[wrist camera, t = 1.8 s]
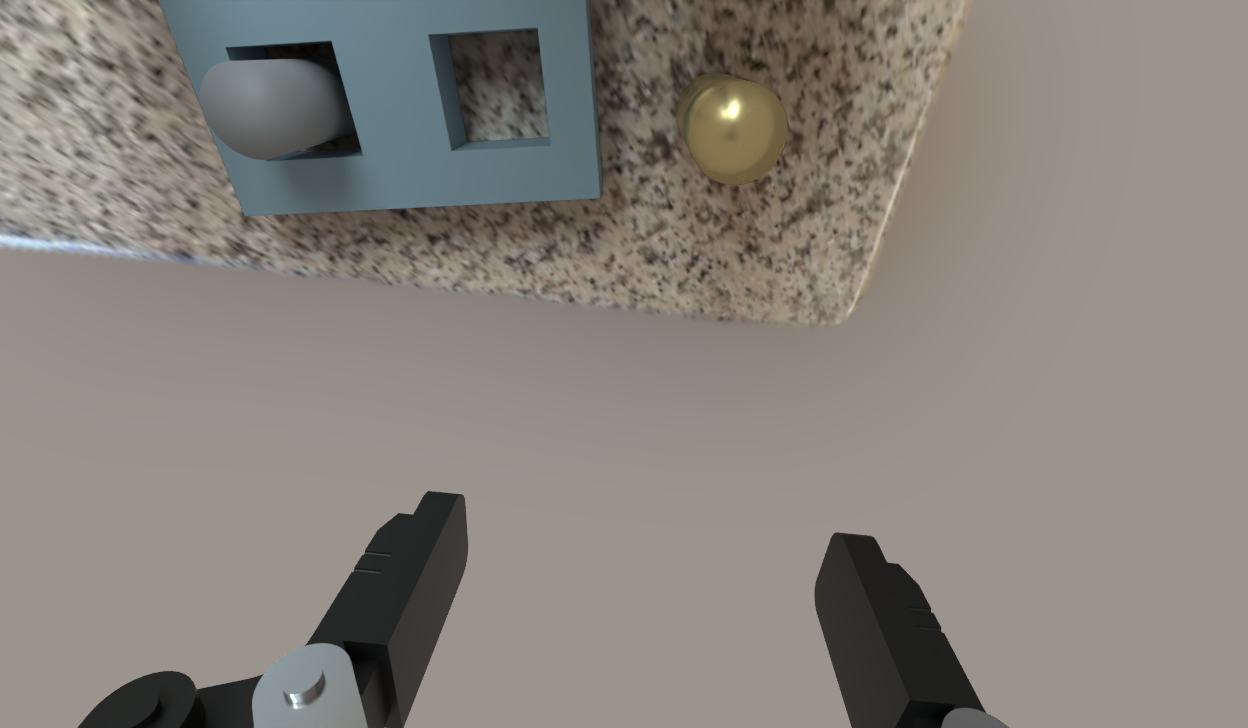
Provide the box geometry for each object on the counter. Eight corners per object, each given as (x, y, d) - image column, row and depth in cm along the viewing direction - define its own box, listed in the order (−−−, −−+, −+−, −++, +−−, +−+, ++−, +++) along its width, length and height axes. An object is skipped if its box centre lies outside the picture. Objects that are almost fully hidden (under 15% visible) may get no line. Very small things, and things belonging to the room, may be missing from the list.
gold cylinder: (675, 74, 33) (690, 84, 24) (749, 69, 32) (792, 78, 24) (675, 152, 35) (690, 187, 26) (745, 148, 35) (782, 182, 26)
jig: (197, -14, 31) (70, -31, 24) (586, -41, 30) (572, -67, 23) (276, 202, 37) (194, 238, 30) (602, 185, 36) (595, 218, 29)
